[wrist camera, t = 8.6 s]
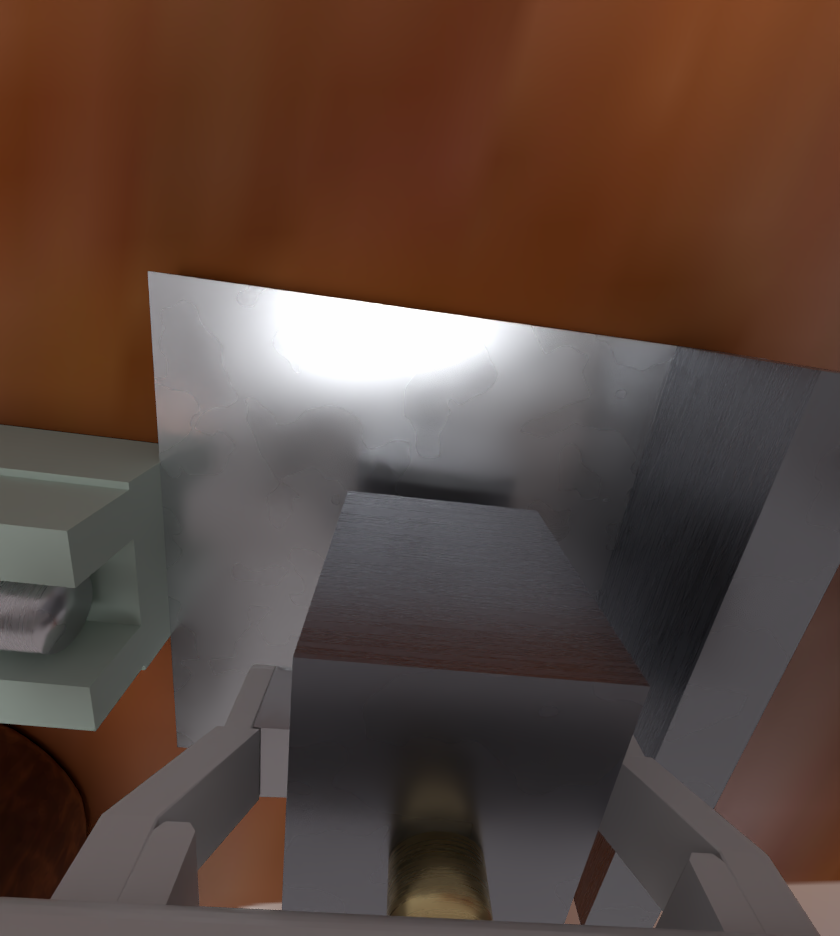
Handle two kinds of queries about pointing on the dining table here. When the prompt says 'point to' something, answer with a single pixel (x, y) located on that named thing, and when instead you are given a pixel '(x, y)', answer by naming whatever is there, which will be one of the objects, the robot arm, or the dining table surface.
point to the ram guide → (82, 568)
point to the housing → (450, 718)
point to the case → (35, 819)
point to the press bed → (497, 496)
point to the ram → (42, 616)
